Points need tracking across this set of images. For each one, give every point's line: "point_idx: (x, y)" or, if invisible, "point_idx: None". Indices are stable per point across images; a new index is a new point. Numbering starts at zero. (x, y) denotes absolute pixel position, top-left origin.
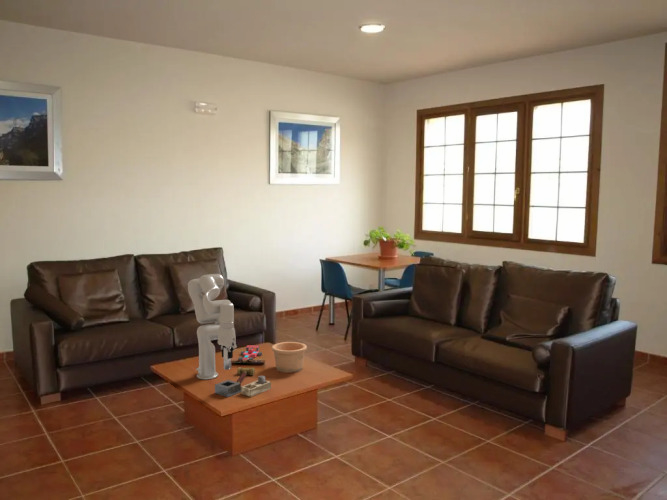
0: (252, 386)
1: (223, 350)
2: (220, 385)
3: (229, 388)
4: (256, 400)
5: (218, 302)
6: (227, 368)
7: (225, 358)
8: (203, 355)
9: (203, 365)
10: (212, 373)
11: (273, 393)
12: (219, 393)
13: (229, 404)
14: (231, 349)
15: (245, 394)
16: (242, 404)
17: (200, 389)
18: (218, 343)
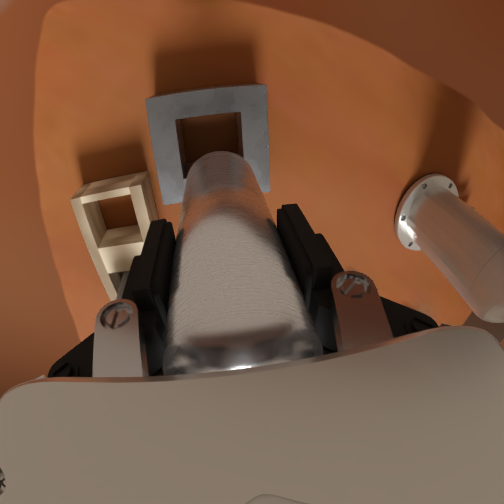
0: (130, 238)
1: (303, 283)
2: (223, 96)
3: (148, 113)
4: (40, 179)
5: None
6: (191, 169)
7: (204, 200)
8: (493, 241)
9: (461, 212)
10: (414, 221)
11: (73, 268)
12: (220, 85)
13: (73, 56)
14: (81, 356)
15: (117, 178)
16: (37, 106)
17: (357, 79)
18: (473, 336)
